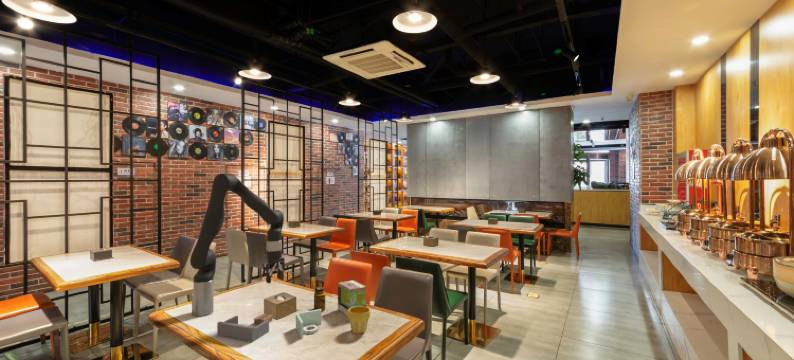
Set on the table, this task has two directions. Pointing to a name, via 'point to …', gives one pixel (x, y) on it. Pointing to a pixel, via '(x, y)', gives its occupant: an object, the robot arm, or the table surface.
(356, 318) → the plant pot
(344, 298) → the tea box
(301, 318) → the right angle wall
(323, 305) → the condiment
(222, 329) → the box
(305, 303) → the table surface
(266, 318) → the walnut tile
